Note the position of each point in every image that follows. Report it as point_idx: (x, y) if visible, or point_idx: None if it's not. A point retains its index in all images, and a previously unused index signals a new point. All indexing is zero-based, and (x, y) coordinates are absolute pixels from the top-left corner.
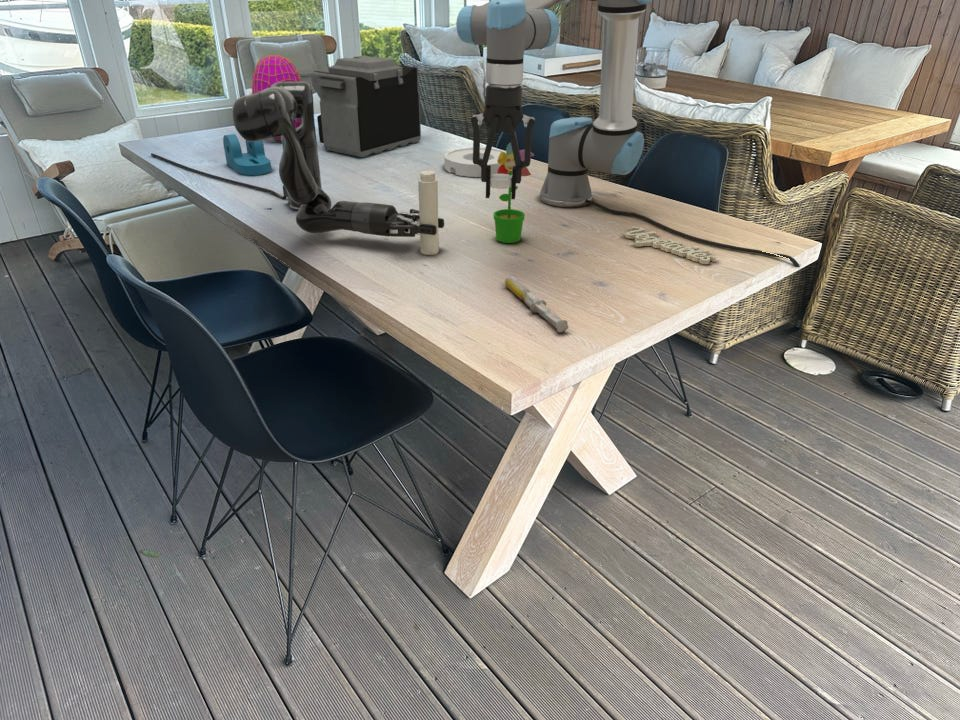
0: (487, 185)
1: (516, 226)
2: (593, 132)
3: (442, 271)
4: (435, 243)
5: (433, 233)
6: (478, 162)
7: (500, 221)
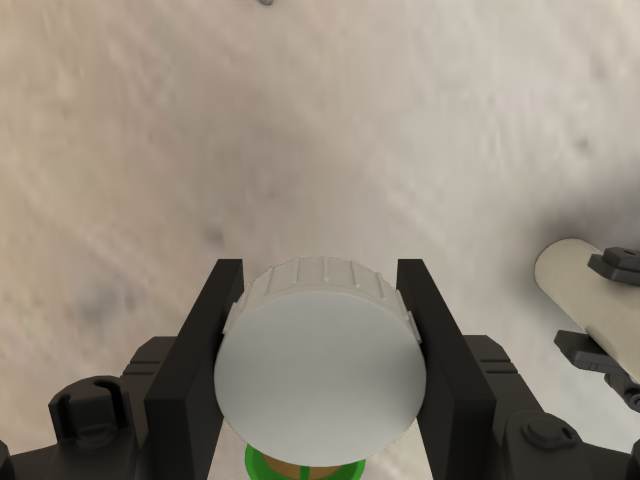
0: (431, 301)
1: None
2: None
3: (520, 97)
4: (564, 264)
5: (601, 257)
6: (622, 475)
7: None
